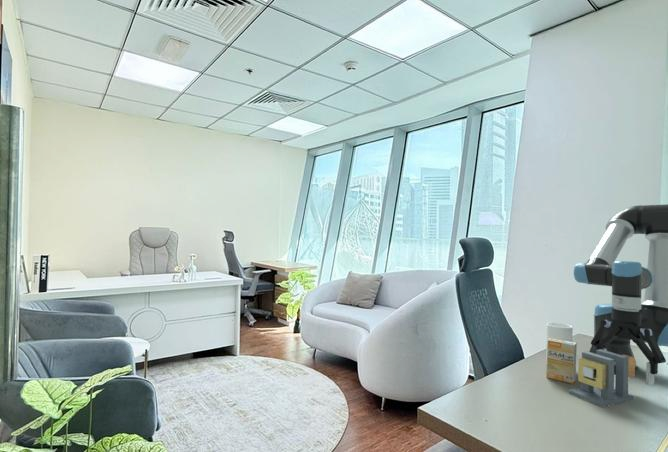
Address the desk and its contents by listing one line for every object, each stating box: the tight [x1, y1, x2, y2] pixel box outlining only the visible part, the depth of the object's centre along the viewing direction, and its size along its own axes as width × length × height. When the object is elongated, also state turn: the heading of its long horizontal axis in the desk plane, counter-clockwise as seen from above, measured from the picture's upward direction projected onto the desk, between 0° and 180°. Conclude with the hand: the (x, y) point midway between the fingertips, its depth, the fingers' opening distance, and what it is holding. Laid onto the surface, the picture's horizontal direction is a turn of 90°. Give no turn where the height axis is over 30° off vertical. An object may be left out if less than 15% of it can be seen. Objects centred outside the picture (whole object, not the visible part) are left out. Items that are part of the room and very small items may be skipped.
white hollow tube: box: [545, 322, 573, 368], centre depth 140 cm, size 8×8×16 cm
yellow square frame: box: [577, 357, 607, 390], centre depth 113 cm, size 2×7×7 cm, turn 24°
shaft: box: [583, 355, 636, 379], centre depth 117 cm, size 20×3×6 cm, turn 113°
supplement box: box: [545, 338, 578, 385], centre depth 129 cm, size 8×5×13 cm, turn 50°
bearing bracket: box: [568, 350, 635, 408], centre depth 115 cm, size 15×10×13 cm, turn 113°
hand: (625, 376), depth 120 cm, fingers open, 13 cm apart
